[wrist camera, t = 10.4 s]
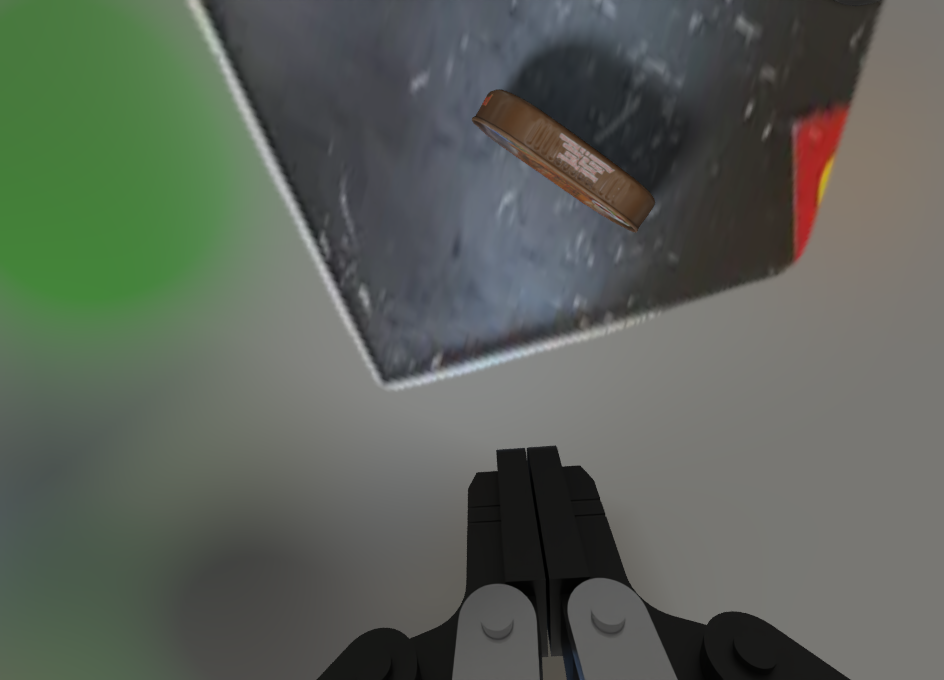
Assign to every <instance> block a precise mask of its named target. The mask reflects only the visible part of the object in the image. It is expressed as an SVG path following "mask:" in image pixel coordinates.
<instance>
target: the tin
mask: <svg viewBox="0 0 944 680" xmlns="http://www.w3.org/2000/svg"><path fill="white" fill-rule="evenodd" d="M472 121H473V123H474V124H475V125H476V126H478V127H479V128H480V129H481V130H482V131H483V132H484V133H485V134H486V135H487V136H489V137H490V138H491V139H492V140H494V141H495V142H497V143H498V144H499V145H501V146H502V147H504V148H505V149H506V150H508V151H509V152H511V153H512V154H513V155H515V156H516V157H518V158H519V159H521V160H522V161H523V162H525V163H526V164H528V165H529V166H531V167H532V168H533V169H535V170H536V171H538V172H539V173H541V174H542V175H543V176H545V177H546V178H548V179H549V180H551V181H552V182H554V183H555V184H556V185H558V186H559V187H561V188H562V189H564V190H565V191H566V192H568V193H569V194H571V195H572V196H574V197H575V198H577V199H578V200H579V201H581V202H582V203H584V204H585V205H587V206H589V207H590V208H592V209H593V210H595V211H596V212H598V213H599V214H601V215H603V216H604V217H606V218H608V219H609V220H611V221H613V222H615V223H616V224H618V225H620V226H622V227H624V228H626V229H628V230H630V231H632V232H637V231H638V228H639V226H640V225H641V224H642V222H643V221H644V220H645V218H646V217H647V216H648V214H649V213H650V211H651V210H652V208H653V207H654V204H655V200H654V198H653V196H652V195H651V193H650V192H649V191H648V190H647V189H646V188H645V187H644V186H642V185H641V184H640V183H639V182H638V181H637V180H635V179H634V178H633V177H632V176H630V175H629V174H628V173H626V172H625V171H624V170H622V169H621V168H620V167H618V166H617V165H616V164H614V163H613V162H612V161H610V160H609V159H608V158H606V157H605V156H603V155H602V154H601V153H600V152H598V151H597V150H595V149H594V148H593V147H591V146H590V145H589V144H587V143H586V142H584V141H583V140H582V139H580V138H579V137H578V136H576V135H575V134H573V133H572V132H571V131H569V130H568V129H567V128H565V127H564V126H562V125H561V124H559V123H558V122H557V121H555V120H554V119H552V118H551V117H550V116H548V115H547V114H545V113H544V112H542V111H541V110H539V109H538V108H536V107H535V106H533V105H532V104H530V103H528V102H527V101H525V100H524V99H522V98H520V97H518V96H516V95H514V94H512V93H509V92H507V91H504V90H494V91H491V92H490V93H489V94H488V95H487V97H486V98H485V100H484V102H483V104H482V106H481V107H480V109H479V111H478V113H477V114H476V116H475V117H473V118H472Z"/></svg>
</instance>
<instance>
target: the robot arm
mask: <svg viewBox="0 0 944 680" xmlns="http://www.w3.org/2000/svg"><path fill="white" fill-rule="evenodd" d="M834 1H836V2H839V3H841V4H844V5H852V6H859V5H867V4H872V3H875V2H878V1H881V0H834ZM496 452H497V467H498V471H493V472H478V473H476V475H475V477H474V479H473V481H472V483H471V484H470V486H469V488H468V528H467V529H468V531H467V580H466V592H465V596H464V599H463V601H462V603H461V605H460V607H459V608H458V610H457V611H456V613H455V614H454V615H453V616H452V617H451V618H450V619H449V620H448V621H446V622H445V623H443V624H442V625H440V626H438V627H437V628H434V629H432V630H430V631H427V632H425V633H422V634H420V635H418V636H415V637H413V638H411V639H409V638H408V637H407V636H406V635H405V634H403V633H402V632H400V631H398V630H396V629H392V628H378V629H374V630H371V631H368V632H366V633H364V634H362V635H361V636H359V637H358V638H357V639H355V640H354V641H353V642H352V643H351V644H350V645H349V646H348V647H347V648H346V649H345V650H344V651H343V652H342V653H341V654H340V656H339V657H338V658H337V659H336V660H335V661H334V662H333V663H332V664H331V665H330V666H329V667H328V668H327V669H326V670H325V672H323V674H322V675H321V676H320V677H319V678H318V679H317V680H543V671H542V657H548V645H547V644H548V641H547V630H548V637H549V644H550V651H551V656H563V660H564V665H565V671H566V677H567V680H850V679H849V678H847V677H846V676H844V675H843V674H841V673H840V672H838V671H837V670H836V669H834V668H833V667H831V666H830V665H828V664H827V663H825V662H824V661H822V660H821V659H820V658H818V657H817V656H815V655H814V654H813V653H811V652H809V651H808V650H807V649H805V648H804V647H802V646H801V645H799V644H798V643H797V642H795V641H794V640H792V639H791V638H789V637H788V636H787V635H785V634H784V633H782V632H781V631H779V630H778V629H776V628H775V627H774V626H772V625H770V624H769V623H767V622H766V621H764V620H762V619H760V618H758V617H755V616H753V615H750V614H747V613H742V612H724V613H721V614H718V615H716V616H715V617H713V618H712V619H711V620H710V621H709V623H708V624H707V625H704V624H701V623H697V622H694V621H690V620H686V619H682V618H679V617H675V616H671V615H669V614H666V613H664V612H661V611H659V610H657V609H656V608H654V607H652V606H651V605H649V604H648V603H647V602H645V601H644V600H643V599H642V598H641V597H640V596H639V595H638V594H637V593H636V592H635V590H634V589H633V588H632V586H631V584H630V583H629V581H628V579H627V576H626V574H625V571H624V568H623V565H622V562H621V559H620V556H619V553H618V550H617V547H616V544H615V541H614V538H613V535H612V532H611V529H610V527H609V523H608V521H607V518H606V517H605V512H604V509H603V506H602V503H601V502H600V497H599V494H598V491H597V488H596V485H595V482H594V480H593V479H592V478H591V477H590V476H589V475H588V473H587V472H586V471H585V470H584V469H583V468H582V467H581V466H565V467H562V465H561V461H560V457H559V454H558V450H557V447H556V446H544V447H529V448H527V458H526V452H525V448H517V449H503V450H496Z"/></svg>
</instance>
